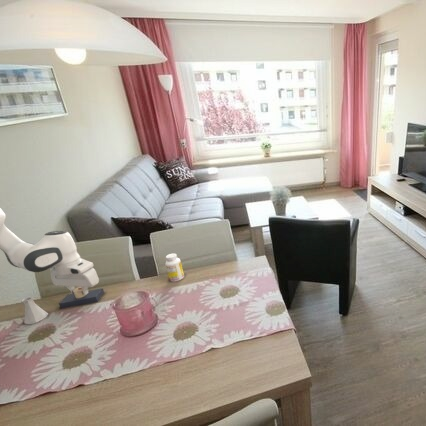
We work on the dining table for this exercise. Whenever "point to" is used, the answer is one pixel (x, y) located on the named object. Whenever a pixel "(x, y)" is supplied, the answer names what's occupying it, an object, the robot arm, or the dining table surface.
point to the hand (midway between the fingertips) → (80, 293)
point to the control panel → (88, 298)
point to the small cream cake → (78, 292)
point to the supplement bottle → (174, 267)
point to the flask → (32, 311)
